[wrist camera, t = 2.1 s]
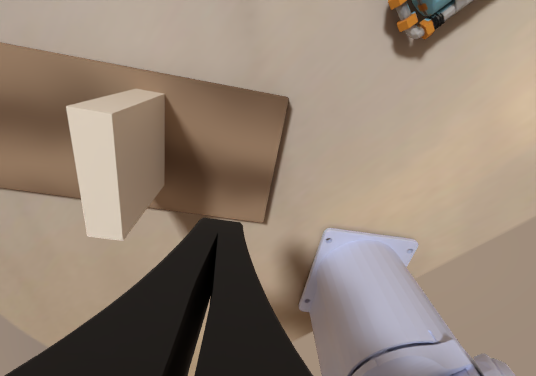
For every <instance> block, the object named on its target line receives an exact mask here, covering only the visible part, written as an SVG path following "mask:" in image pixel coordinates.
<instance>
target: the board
mask: <svg viewBox="0 0 536 376" xmlns="http://www.w3.org/2000/svg"><path fill="white" fill-rule="evenodd" d="M132 89H141V90H146V91H152V92H158V93H163V94H165V170H164V186H163V188H162V189H161V190H160V192H159V193H158V194H157V196H156V197H155V198H154V200H153V201H152V202H151V204H150V205H149V206H148V207H149V208H156V209H164V210H171V211H179V212H186V213H194V214H201V215H208V216H216V217H223V218H231V219H238V220H246V221H253V222H261V223H263V221H264V216H265V211H266V206H267V201H268V197H269V192H270V187H271V182H272V177H273V173H274V168H275V163H276V158H277V153H278V149H279V144H280V139H281V134H282V129H283V125H284V120H285V115H286V110H287V105H288V101H289V98H288V97H285V96H280V95H274V94H269V93H264V92H259V91H253V90H248V89H243V88H238V87H232V86H227V85H222V84H216V83H211V82H206V81H201V80H195V79H190V78H185V77H180V76H174V75H169V74H164V73H158V72H153V71H148V70H143V69H137V68H132V67H127V66H121V65H116V64H111V63H106V62H100V61H95V60H90V59H85V58H79V57H74V56H69V55H63V54H58V53H53V52H48V51H42V50H37V49H32V48H27V47H21V46H16V45H11V44H5V43H0V188H7V189H14V190H22V191H29V192H37V193H44V194H52V195H59V196H67V197H74V198H81V195H80V189H79V183H78V177H77V171H76V165H75V159H74V153H73V146H72V140H71V134H70V128H69V122H68V116H67V110H66V106H68V105H72V104H76V103H80V102H84V101H88V100H92V99H96V98H100V97H104V96H108V95H112V94H116V93H120V92H124V91H128V90H132Z"/></svg>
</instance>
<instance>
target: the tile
mask: <svg viewBox="0 0 536 376" xmlns="http://www.w3.org/2000/svg"><path fill="white" fill-rule="evenodd" d="M66 110H67V116H68V122H69V128H70V134H71V140H72V146H73V153H74V159H75V165H76V171H77V177H78V183H79V189H80V195H81V201H82V207H83V213H84V219H85V225H86V231H87V236H88V237H96V238H105V239H113V240H121V241H123V240H124V239H125V237H126V236H127V235H128V233H129V232H130V231H131V229H132V228H133V227H134V225H135V224H136V222H137V221H138V220H139V218H140V217H141V216H142V214H143V213H144V212H145V210H146V209H147V208H148V206H149V205H150V204H151V202H152V201H153V200H154V198H155V197H156V196H157V194H158V193H159V192H160V190H161V189H162V188H163V186H164V170H165V94H163V93H158V92H152V91H146V90H141V89H132V90H128V91H124V92H120V93H116V94H112V95H108V96H104V97H100V98H96V99H92V100H88V101H84V102H80V103H76V104H72V105H68V106H66Z"/></svg>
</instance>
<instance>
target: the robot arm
mask: <svg viewBox="0 0 536 376" xmlns="http://www.w3.org/2000/svg"><path fill="white" fill-rule="evenodd" d="M328 238H331V239H330V240H326V239H328ZM417 247H418V243H417V241H416V240H414V239H409V238H402V237H394V236H387V235H379V234H372V233H365V232H357V231H350V230H343V229H335V228H328V229H326V230H325V231H324V232H323V235H322V238H321V241H320V244H319V247H318V250H317V253H316V256H315V259H314V262H313V265H312V268H311V270H310V273H309V276H308V279H307V282H306V285H305V288H304V291H303V294H302V297H301V300H300V303H299V309H300V310H301V311H304V312H309V313H310V318H311V323H312V328H313V333H314V338H315V343H316V348H317V353H318V358H319V363H320V368H321V374H322V376H516V375H515V374H514V373H513V372H512V370H511V369H510V368H509V367H508V366H507V364H506V363H504V362H502V361H500V360H497V359H494V358H492V359H491V358H490V357H489V356H488V355H487V354H480V355H477V356H475V357H474V360H475V361H474V360H473V359H472V358H471V356H470V355H469V354H468V353H467V352H466V351H465V350H464V349H463V347H462V346H461V345H460V343H459V342H458V340H457V339H456V337H455V336H454V335H453V333H452V332H451V330H450V329H449V328H448V326H447V325H446V323H445V322H444V320H443V319H442V317H441V316H440V315H439V313H438V312H437V310H436V309H435V308H434V306H433V305H432V303H431V302H430V300H429V299H428V297H427V296H426V295H425V293H424V292H423V290H422V289H421V288H420V286H419V285H418V284H417V282H416V280H415V279H414V278H413V276H412V275H411V273H410V272H409V270H408V269H407V268H406V267H407V265H408V263H409V262H410V260H411V258H412V256H413V255H414V253H415V251H416V249H417ZM408 249H409V250H408ZM210 296H211V298H210ZM209 299H210V308H209V312H208V317H207V322H206V326H205V331H204V335H203V340H202V344H201V349H200V354H199V358H198V363H197V367H196V371H195V376H313V375H312V374H311V372H310V371H309V369H308V368H307V366H306V365H305V363H304V362H303V360H302V359H301V357H300V356H299V354H298V353H297V351H296V350H295V348H294V346H293V345H292V343H291V341H290V339H289V338H288V336H287V334H286V333H285V331H284V329H283V327H282V326H281V324H280V322H279V320H278V318H277V317H276V315H275V313H274V311H273V309H272V307H271V305H270V303H269V301H268V299H267V297H266V295H265V293H264V290H263V288H262V286H261V284H260V281H259V279H258V277H257V274H256V272H255V269H254V266H253V264H252V261H251V258H250V255H249V252H248V249H247V245H246V242H245V238H244V232H243V225H242V224H241V223H240V222H233V221H225V220H218V219H210V218H202V219H200V220H199V221H198V223H197V224H196V225H195V227H194V228H193V229H192V230H191V231H190V232H189V234H188V235H187V236H186V237H185V238H184V239H183V240H182V241H181V242H180V243H179V244H178V245H177V246H176V247H175V248H174V249H173V250H172V251H171V252H170V253H169V254H168V255H167V256H166V257H165V258H164V259H163V260H162V261H161V262H160V263H159V264H158V265H157V266H156V267H155V268H153V269H152V270H151V271H150V272H149V273H148V274H147V275H146V276H145V277H143V278H142V279H141V280H140V281H139V282H138V283H136V284H135V285H134V286H133V287H132V288H130V289H129V290H128V291H127V292H126V293H124V294H123V295H122V296H121V297H119V298H118V299H117V300H115V301H114V302H113V303H111V304H110V305H109V306H108V307H106V308H105V309H104V310H102V311H101V312H100V313H98V314H97V315H95V316H94V317H93V318H91V319H90V320H88V321H87V322H86V323H84V324H83V325H81V326H80V327H78V328H77V329H76V330H74V331H73V332H71V333H70V334H69V335H67V336H66V337H64V338H63V339H61V340H60V341H58V342H57V343H55V344H54V345H52V346H51V347H49V348H48V349H46V350H45V351H43V352H42V353H40V354H39V355H37V356H35V357H34V358H32V359H30V360H29V361H28V362H26V363H24V364H22V365H21V366H19V367H18V368H16V369H14V370H13V371H11V372H10V373H8V374H6V375H5V376H188V372H189V368H190V364H191V361H192V357H193V354H194V351H195V347H196V344H197V340H198V337H199V334H200V330H201V327H202V323H203V320H204V317H205V313H206V310H207V306H208V303H209Z"/></svg>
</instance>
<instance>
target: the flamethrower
mask: <svg viewBox="0 0 536 376" xmlns="http://www.w3.org/2000/svg"><path fill="white" fill-rule="evenodd" d="M472 1H474V0H412V3H413V4H414V6H415V7H416V9H417V10H418V11H419V12H420V13H421V14H422V15H423V16H427V18H425V19H424V20H422V21H421V22H420V23H419V24H418V25H416V23H417V22H418V18H417V15H416V12H413V13H411V11H410V9H409V6H408V4H407V0H388V3H389V6H390V8H391V10H392V9H394V8H395V9H396V11H397V14H398V16H399V18H400V20H399V21H398V22H397V26H398V29H399V32H402V31H405V33H406V34H407V35H408V36H409V37H411V38H413V39H418V38H420V37H421V38H423V39H424V40H425V39H427V38H428V37H429V36H431V35H432V34H433V32H434V31H435V29H436V28H438V27H439V26H441V24H443V23H444V22H445V21H446V20H447V19H449V18H450V17H451V16H453V15H454V14H456V13H457V12H458V11H460V10H461V9H462V8H464V7H465V6H467V5H468V4H469V3H471V2H472ZM443 6H444V7H443ZM439 9H440V10H439Z"/></svg>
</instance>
